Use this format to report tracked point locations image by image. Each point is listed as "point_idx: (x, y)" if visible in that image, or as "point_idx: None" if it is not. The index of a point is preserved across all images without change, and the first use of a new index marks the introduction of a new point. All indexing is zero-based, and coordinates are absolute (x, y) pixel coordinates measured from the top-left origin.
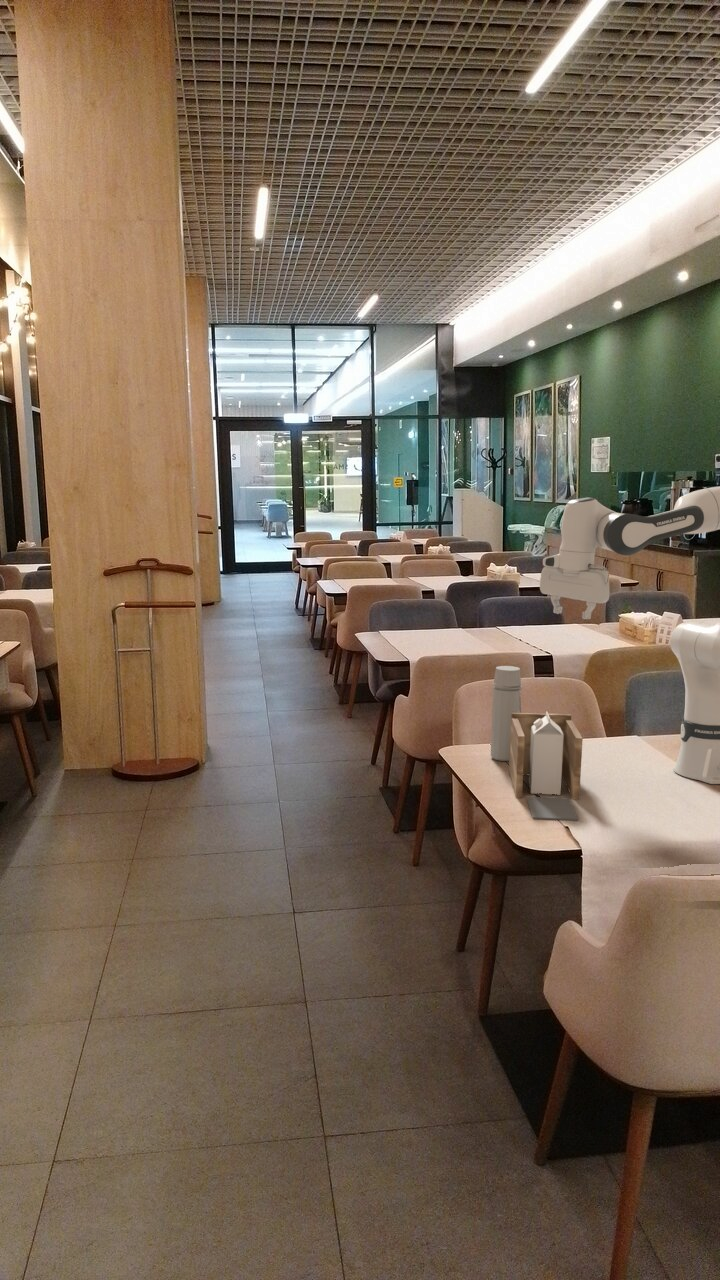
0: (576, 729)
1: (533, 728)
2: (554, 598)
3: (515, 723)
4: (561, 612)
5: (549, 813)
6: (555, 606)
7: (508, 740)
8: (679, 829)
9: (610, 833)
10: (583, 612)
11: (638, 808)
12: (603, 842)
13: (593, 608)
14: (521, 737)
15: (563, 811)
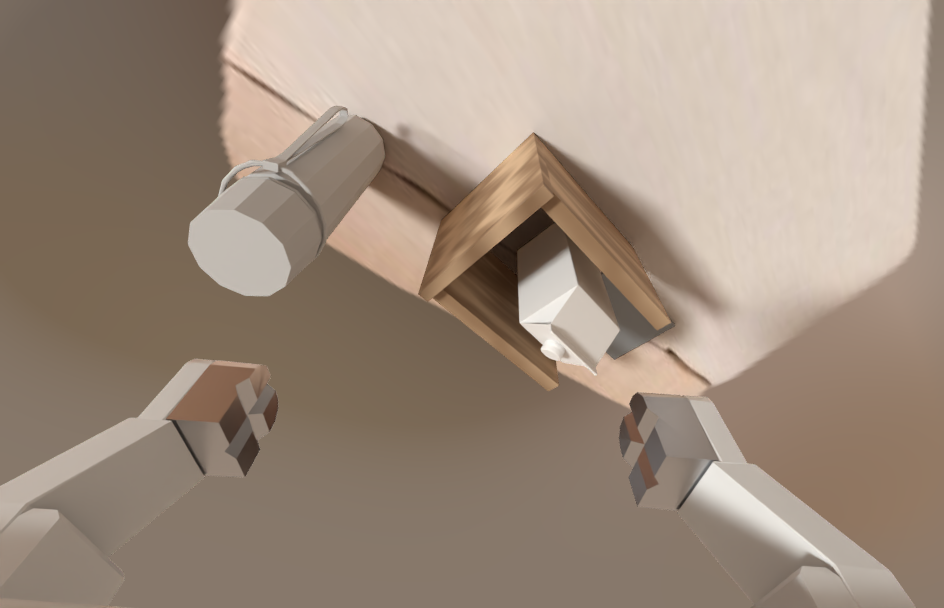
0: (622, 272)
1: (538, 339)
2: (106, 595)
3: (476, 329)
4: (259, 370)
5: (626, 335)
6: (203, 477)
7: (369, 181)
8: (852, 246)
9: (738, 331)
10: (652, 500)
11: (754, 206)
12: (738, 360)
13: (817, 531)
14: (553, 386)
15: (641, 317)
